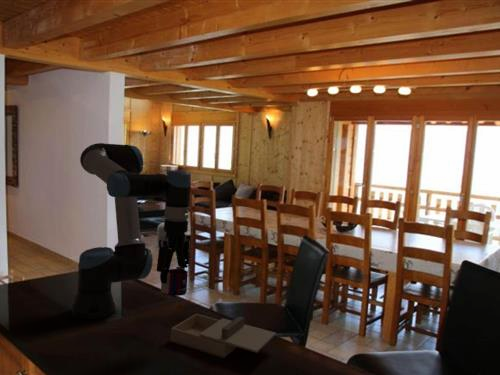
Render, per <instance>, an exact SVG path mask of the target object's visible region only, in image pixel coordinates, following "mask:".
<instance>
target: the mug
mask: <svg viewBox="0 0 500 375" xmlns="http://www.w3.org/2000/svg"><path fill="white" fill-rule="evenodd" d="M168 273H170V286H169V293H168V294H167V293H165V294H166V295H169V296H174V297H176V296H177V297H178V296H179V297H180V296H185V295H186V294H187V293H188V292H187V291H188V276H189V275H188V274H189V272H188V271H187V269H185V270H183V269H176V268H171V269H170V268H169V272H168ZM159 279H160V281H161V272H160V274H159Z"/></svg>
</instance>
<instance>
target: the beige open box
mask: <svg viewBox="0 0 500 375" xmlns="http://www.w3.org/2000/svg"><path fill="white" fill-rule="evenodd" d="M219 320H220V319H216V318H213V317H210V316H206V315H202V314H200V313H196V314H193V315H192V316H190V317H188V318H186V319H185V320H183V321H182V322H179V323H178V324H176V325H173V326H172V327H171V328H170V340H169V342H172V343H174V344H177V345H180V346H183V347H187V348H190V349H192V350H193V349H194V350H197V351H200V352H202V353H206V354H209V355H212V356H216V357H219V358H220V359H225V358H226V357H227V356H228V355H229V354H231V353H232V352H233V351H234V350H236V349H237V348H238V347H236V346H232V345H229V344H226V343H222V342H219V341H216V340H212V339H209V338H206V337H202V336H199V334H200V333H201V332H203V331H204V330H206V329H207V328H209V327H210V326H212V325H213V324H215V323H216V322H218V321H219Z"/></svg>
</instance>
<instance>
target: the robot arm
mask: <svg viewBox="0 0 500 375" xmlns="http://www.w3.org/2000/svg"><path fill="white" fill-rule="evenodd" d="M79 161H80V165H81V167H82V169H83V170H84V171H85V172H87V173H88V174H90V175H93V176H94V175H95V176H96V177H97V178H99V179H100V180H102V181H103V182H104V183H105V184H106V190H107V194H108V195H109V196H110V197H113V198H114V204H115V206H114V207H115V208H114V209H115V218H116V219H115V221H116V232H117V243H116V244H115V245H114V249H113V248H112V247H107V246H99V247H92V248H89V249H86V250H84V251H83V252H81V253H80V255H79V259H78V264H77V265H78V266H77V267H78V271H77V272H78V276H77V277H78V278H77V293H76V295H75V298H74V301H73V304H72V305H71V315H72V316H73V317H74V318H76V319H80V320H87V321H90V320H91V321H93V320H102V319H105V318H108V317H112V316H113V315H114V313H115V312H116V304H115V302H114V297H113V293H112V284H113V283H121V282H129V281H139V280H141V279H146V278H147V277H148V276H149V275H150V273H151V271H152V267H153V260H154V259H153V258H154V257H153V253H152V250H151V249H149V248H148V247H146V243H145V242H144V241H143V240H142V239H141V227H140V216H139V215H140V214H139V206H138V205H139V203H138V198H164V199H165V204H164V218H165V219H164V221H163V222H164V224H163V230H164V232H165V234H166V235H165V237H164V239H159V240H158V247H159V248H158V255H157V263H156V272H158V273H159V272H160V273H161V280H160V292H161V293H164V294H166V293H167V294H166V295H168V293H169V286H170V273H168V272H169V270H170V268H171V264H172V261H173V258H174V254H176V261H177V266H176V268H175V269H183V270H186V269H188V268H189V267H188V266H189V264H190V242H191V235H188V234H186V233H187V232H188V230H189V221H188V219H189V214H190V213H189V207H190V197H191V185H192V182H191V177H192V176H191V173H190V172H189V171H185V170H169V171H167V173H166V174H165V173H152V174H151V173H148V174H147V173H142V172H143V169H144V157H143V154H142V151H141V150H140V148H138V147H137V146H135V145H130V144H118V143H117V144H115V143H103V142H99V143H98V142H97V143H93V144H90V145H89V146H87V147H86V148H85V149H83V151H82V152H81V155H80V158H79Z"/></svg>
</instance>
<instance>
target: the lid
mask: <svg viewBox="0 0 500 375" xmlns="http://www.w3.org/2000/svg"><path fill="white" fill-rule="evenodd" d="M218 320H219V321H218V322H216V323H215V324H213V325H212V326H210V327H209V328H207V329H206V330H204V331H203V332H201V333H200V334H199V336H202V337H206V338H209V339H212V340H216V341H219V342H222V343H226V344H229V345H232V346H236V347H237V348H240V349H243V350H246V351H250V352H253V353H259V352H260V350H261V349H263V347H265V346H266V345H267V344H268V343H269V342H270V341H271V340H272V339H273V338H274V337H275V336H276V335H277V333H276V332H274V331H270V330H266V329H263V328H259V327H256V326H252V325H249V324H245V317H244V316H237V317H236V318H234V320H231V319H227V318H221V319H218Z"/></svg>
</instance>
